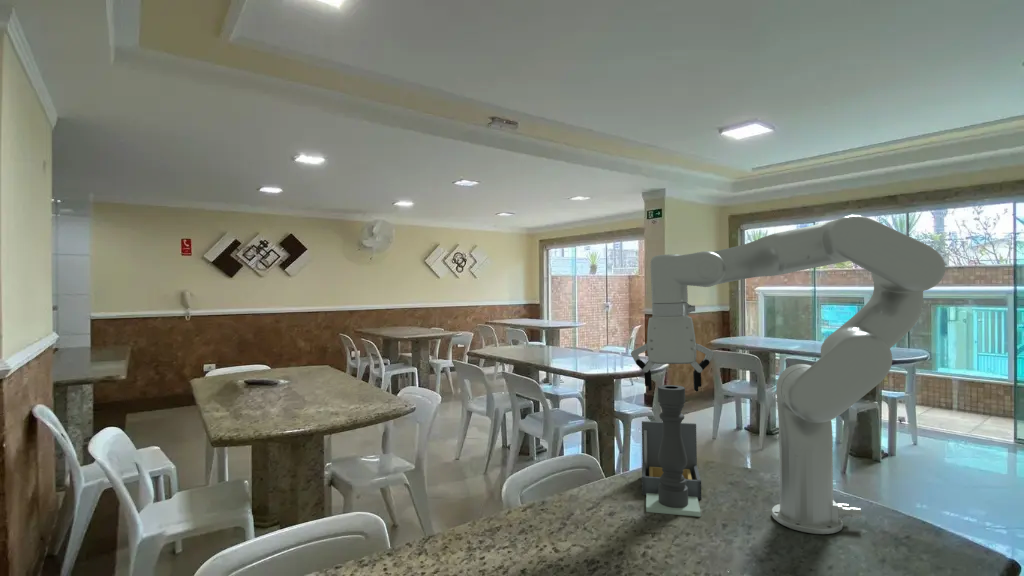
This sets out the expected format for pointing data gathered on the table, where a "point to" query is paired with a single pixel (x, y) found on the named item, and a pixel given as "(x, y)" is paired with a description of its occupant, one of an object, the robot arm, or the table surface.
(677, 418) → the candle holder
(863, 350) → the robot arm
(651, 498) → the sage pad
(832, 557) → the table surface
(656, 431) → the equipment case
